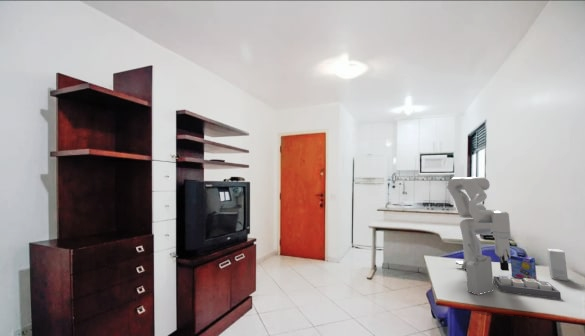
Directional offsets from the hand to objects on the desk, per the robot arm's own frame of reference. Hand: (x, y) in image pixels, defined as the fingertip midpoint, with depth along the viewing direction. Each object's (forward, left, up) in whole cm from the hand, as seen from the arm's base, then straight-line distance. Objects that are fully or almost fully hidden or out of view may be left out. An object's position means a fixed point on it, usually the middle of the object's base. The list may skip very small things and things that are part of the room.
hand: (504, 270), depth 138 cm
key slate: (0, 0, -7) cm, 7 cm away
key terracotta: (+5, 0, -8) cm, 10 cm away
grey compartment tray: (+8, 0, -9) cm, 12 cm away
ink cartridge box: (+13, +20, -9) cm, 26 cm away
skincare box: (+30, +27, -9) cm, 41 cm away
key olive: (+10, 0, -7) cm, 12 cm away
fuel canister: (-13, -12, -9) cm, 20 cm away
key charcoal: (+15, 0, -8) cm, 17 cm away
